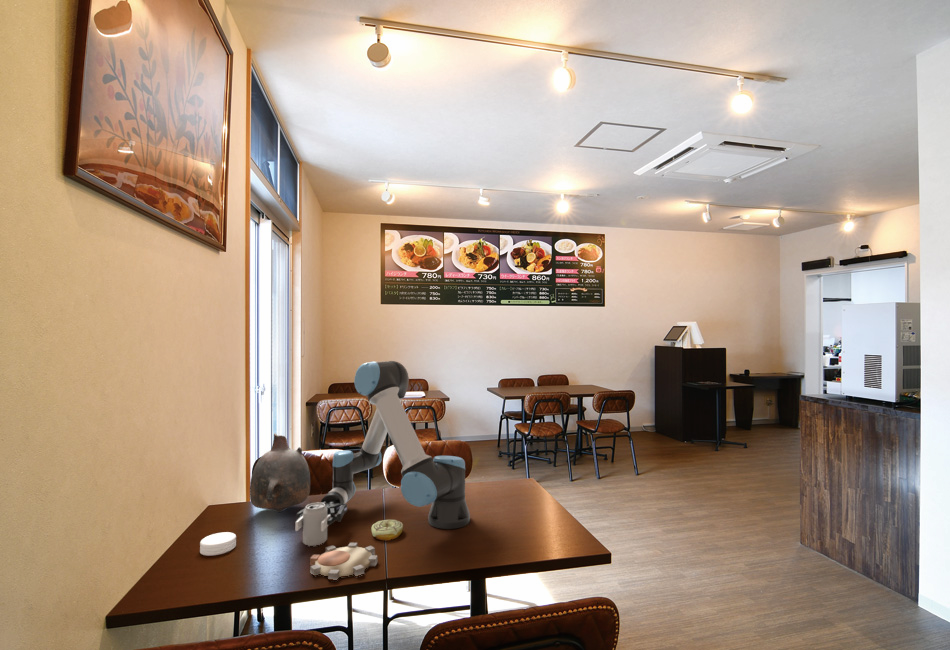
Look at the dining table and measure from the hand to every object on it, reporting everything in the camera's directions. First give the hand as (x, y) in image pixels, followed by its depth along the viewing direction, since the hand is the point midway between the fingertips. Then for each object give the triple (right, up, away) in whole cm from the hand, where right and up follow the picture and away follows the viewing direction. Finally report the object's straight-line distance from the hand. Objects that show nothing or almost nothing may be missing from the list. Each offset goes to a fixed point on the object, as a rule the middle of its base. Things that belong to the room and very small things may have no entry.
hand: (309, 526), depth 143 cm
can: (0, -7, +5) cm, 9 cm away
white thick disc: (-29, -8, 0) cm, 30 cm away
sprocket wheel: (+14, -7, -10) cm, 18 cm away
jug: (-23, -9, +32) cm, 41 cm away
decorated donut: (+22, -8, +11) cm, 26 cm away
